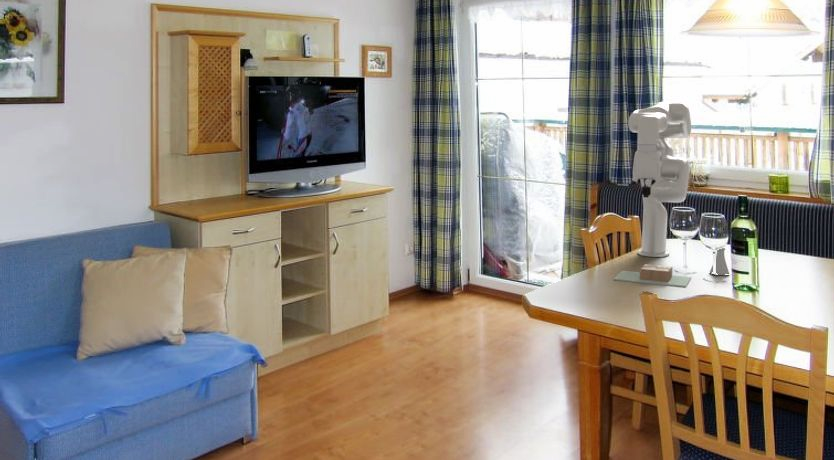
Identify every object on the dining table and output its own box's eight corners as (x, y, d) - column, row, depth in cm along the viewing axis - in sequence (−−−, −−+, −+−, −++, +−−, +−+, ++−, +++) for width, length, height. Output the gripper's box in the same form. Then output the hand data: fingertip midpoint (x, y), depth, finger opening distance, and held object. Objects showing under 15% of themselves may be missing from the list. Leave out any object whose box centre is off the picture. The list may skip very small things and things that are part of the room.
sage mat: (621, 271, 289) (621, 270, 289) (691, 278, 277) (691, 277, 277) (614, 280, 277) (614, 278, 277) (685, 287, 266) (686, 285, 266)
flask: (726, 271, 286) (727, 245, 284) (732, 276, 279) (734, 250, 277) (706, 271, 287) (707, 245, 285) (712, 276, 280) (713, 250, 278)
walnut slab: (644, 263, 282) (672, 266, 277) (644, 274, 283) (672, 276, 278) (640, 268, 275) (668, 271, 270) (639, 279, 276) (668, 282, 271)
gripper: (670, 147, 284) (668, 196, 288) (629, 146, 291) (628, 194, 295) (667, 150, 278) (665, 199, 282) (625, 149, 284) (624, 197, 288)
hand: (646, 196), depth 288 cm, fingers closed
